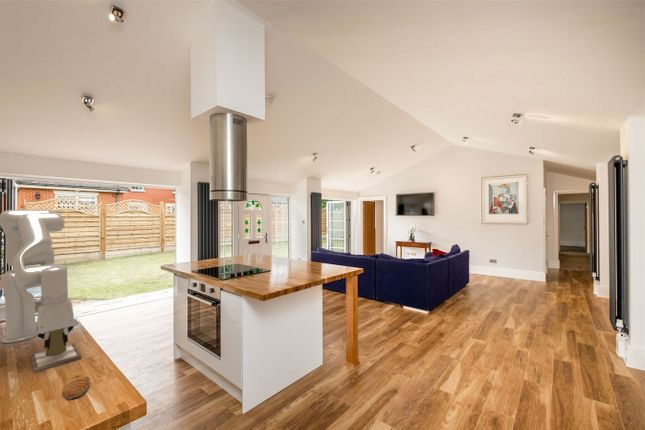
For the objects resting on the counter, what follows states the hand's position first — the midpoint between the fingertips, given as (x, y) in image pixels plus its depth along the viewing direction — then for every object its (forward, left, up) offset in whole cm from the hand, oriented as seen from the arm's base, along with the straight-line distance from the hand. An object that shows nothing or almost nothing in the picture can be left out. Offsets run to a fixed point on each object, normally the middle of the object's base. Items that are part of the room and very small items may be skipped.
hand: (56, 346), depth 113 cm
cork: (0, 0, -2) cm, 2 cm away
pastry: (+26, +16, -6) cm, 31 cm away
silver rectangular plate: (-3, -2, -6) cm, 7 cm away
